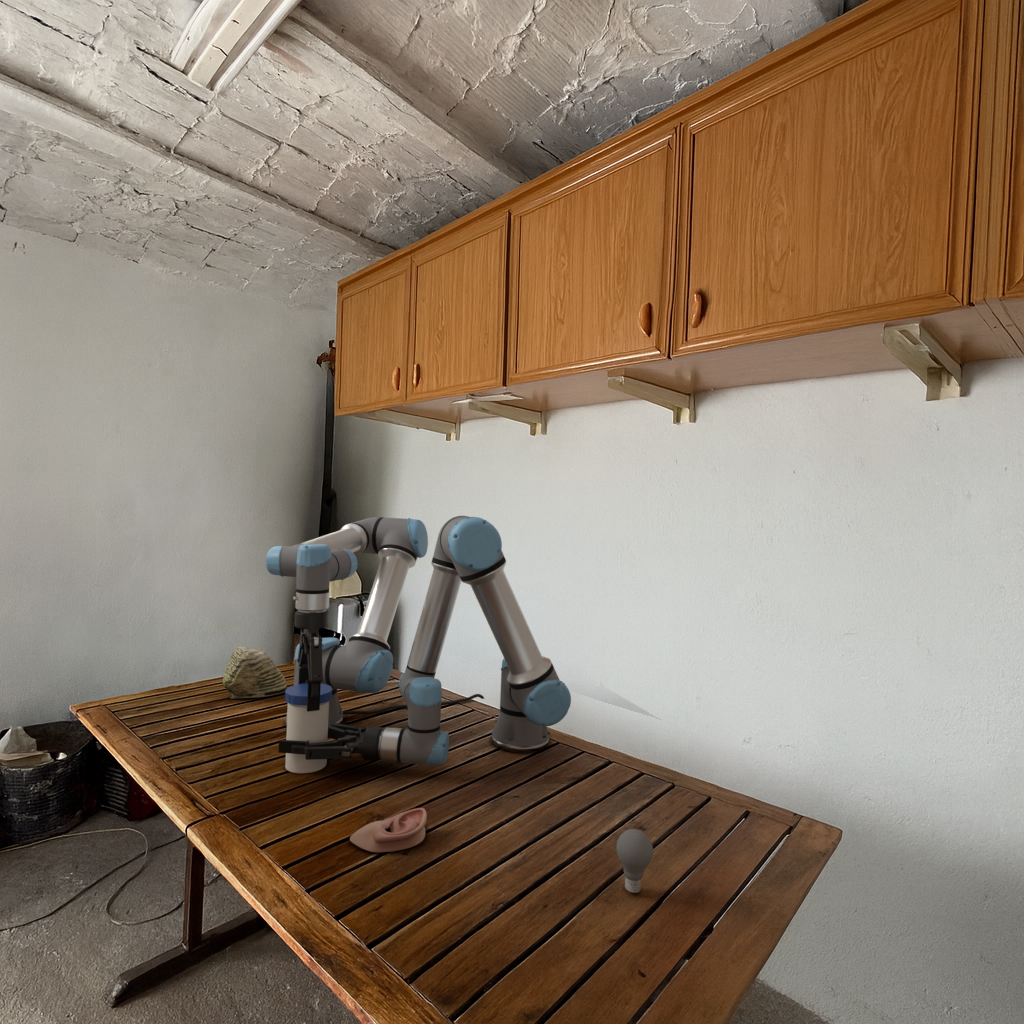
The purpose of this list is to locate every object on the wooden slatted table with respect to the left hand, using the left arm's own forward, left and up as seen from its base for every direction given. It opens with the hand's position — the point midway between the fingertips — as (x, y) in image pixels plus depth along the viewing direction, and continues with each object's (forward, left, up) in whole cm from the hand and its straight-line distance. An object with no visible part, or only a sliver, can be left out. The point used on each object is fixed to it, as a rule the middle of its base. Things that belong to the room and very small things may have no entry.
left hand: (308, 702), depth 149 cm
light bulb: (-9, +81, -15) cm, 83 cm away
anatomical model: (+8, +39, -15) cm, 42 cm away
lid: (0, 0, +3) cm, 3 cm away
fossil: (-18, -56, -15) cm, 60 cm away
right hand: (+3, -4, -9) cm, 10 cm away
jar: (0, 0, -15) cm, 15 cm away
